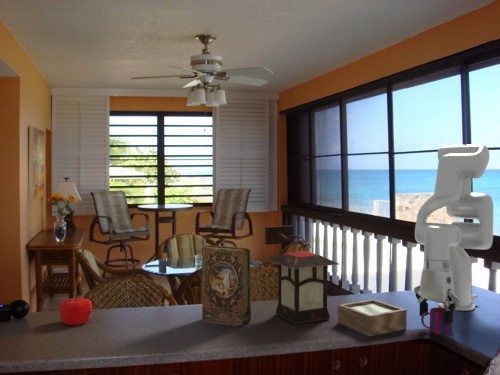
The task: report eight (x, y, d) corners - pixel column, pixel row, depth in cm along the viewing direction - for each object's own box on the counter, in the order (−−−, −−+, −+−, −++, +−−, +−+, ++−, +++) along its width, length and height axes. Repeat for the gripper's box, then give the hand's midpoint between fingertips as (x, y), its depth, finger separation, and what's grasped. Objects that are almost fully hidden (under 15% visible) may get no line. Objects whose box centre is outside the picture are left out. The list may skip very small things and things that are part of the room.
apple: (96, 324, 170) (95, 294, 170) (62, 329, 165) (61, 298, 165) (89, 316, 179) (88, 288, 179) (56, 321, 174) (56, 291, 174)
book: (199, 321, 174) (199, 247, 173) (207, 316, 179) (207, 245, 178) (243, 327, 167) (243, 250, 166) (250, 322, 172) (250, 248, 171)
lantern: (300, 303, 198) (300, 225, 196) (339, 320, 174) (340, 232, 173) (256, 308, 190) (256, 227, 189) (292, 328, 166) (292, 235, 165)
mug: (456, 334, 160) (456, 312, 160) (424, 335, 159) (425, 313, 159) (446, 328, 167) (446, 307, 166) (416, 328, 166) (416, 307, 166)
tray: (373, 316, 179) (373, 299, 179) (406, 329, 165) (406, 309, 165) (338, 323, 171) (338, 304, 171) (369, 336, 158) (369, 316, 158)
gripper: (468, 268, 156) (467, 324, 156) (423, 260, 171) (422, 311, 172) (450, 270, 153) (449, 327, 153) (407, 261, 168) (406, 314, 168)
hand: (435, 319), depth 162 cm, fingers open, 9 cm apart
